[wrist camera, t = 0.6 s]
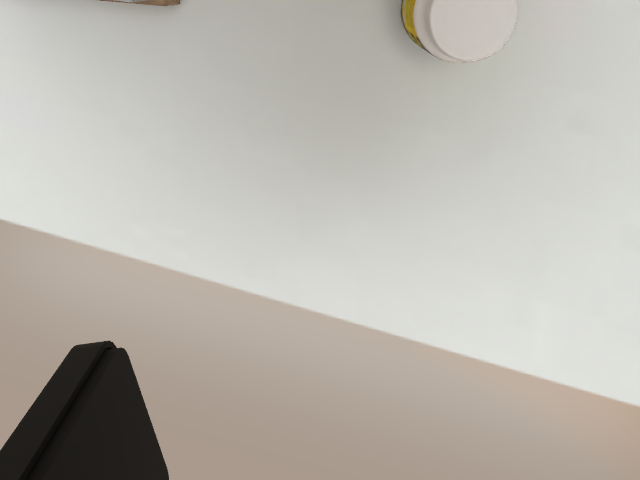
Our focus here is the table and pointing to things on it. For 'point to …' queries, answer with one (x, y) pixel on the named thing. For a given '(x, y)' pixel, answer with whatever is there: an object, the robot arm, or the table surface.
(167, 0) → the walnut block
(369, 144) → the table surface
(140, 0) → the grey block
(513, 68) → the table surface
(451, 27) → the supplement bottle
